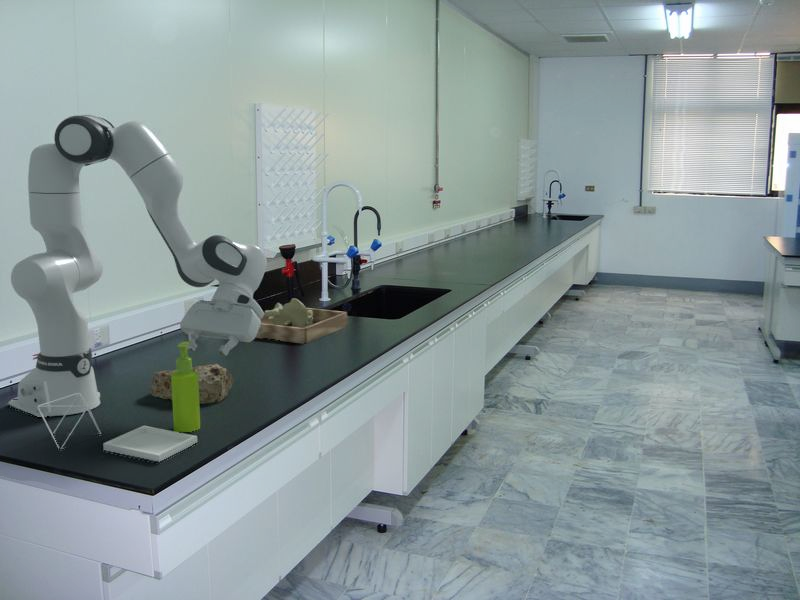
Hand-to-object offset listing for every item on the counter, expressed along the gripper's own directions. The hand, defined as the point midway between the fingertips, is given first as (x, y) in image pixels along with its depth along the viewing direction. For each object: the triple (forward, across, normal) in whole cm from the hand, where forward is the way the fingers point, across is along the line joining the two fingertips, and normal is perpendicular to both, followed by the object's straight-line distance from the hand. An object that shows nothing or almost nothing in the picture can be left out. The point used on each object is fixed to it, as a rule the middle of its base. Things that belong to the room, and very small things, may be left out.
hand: (206, 351), depth 180 cm
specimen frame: (-50, -30, +73) cm, 93 cm away
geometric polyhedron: (+29, -18, -6) cm, 35 cm away
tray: (+26, +1, -3) cm, 26 cm away
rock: (+3, -14, +21) cm, 25 cm away
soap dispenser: (+17, 0, +6) cm, 18 cm away
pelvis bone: (-50, -32, +73) cm, 94 cm away
